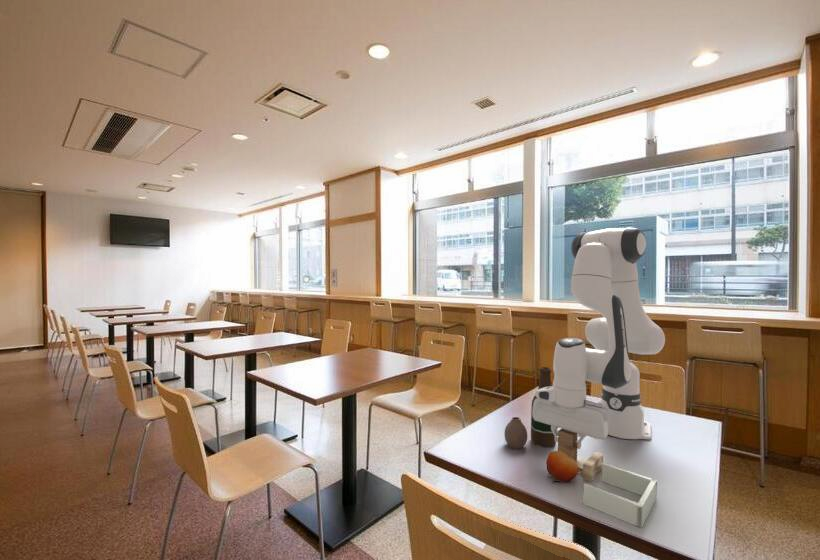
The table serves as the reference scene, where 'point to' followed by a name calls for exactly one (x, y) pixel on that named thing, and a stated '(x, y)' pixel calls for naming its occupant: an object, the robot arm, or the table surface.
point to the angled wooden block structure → (567, 446)
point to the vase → (515, 433)
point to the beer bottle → (540, 431)
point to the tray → (620, 505)
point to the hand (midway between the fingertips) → (567, 444)
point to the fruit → (561, 467)
